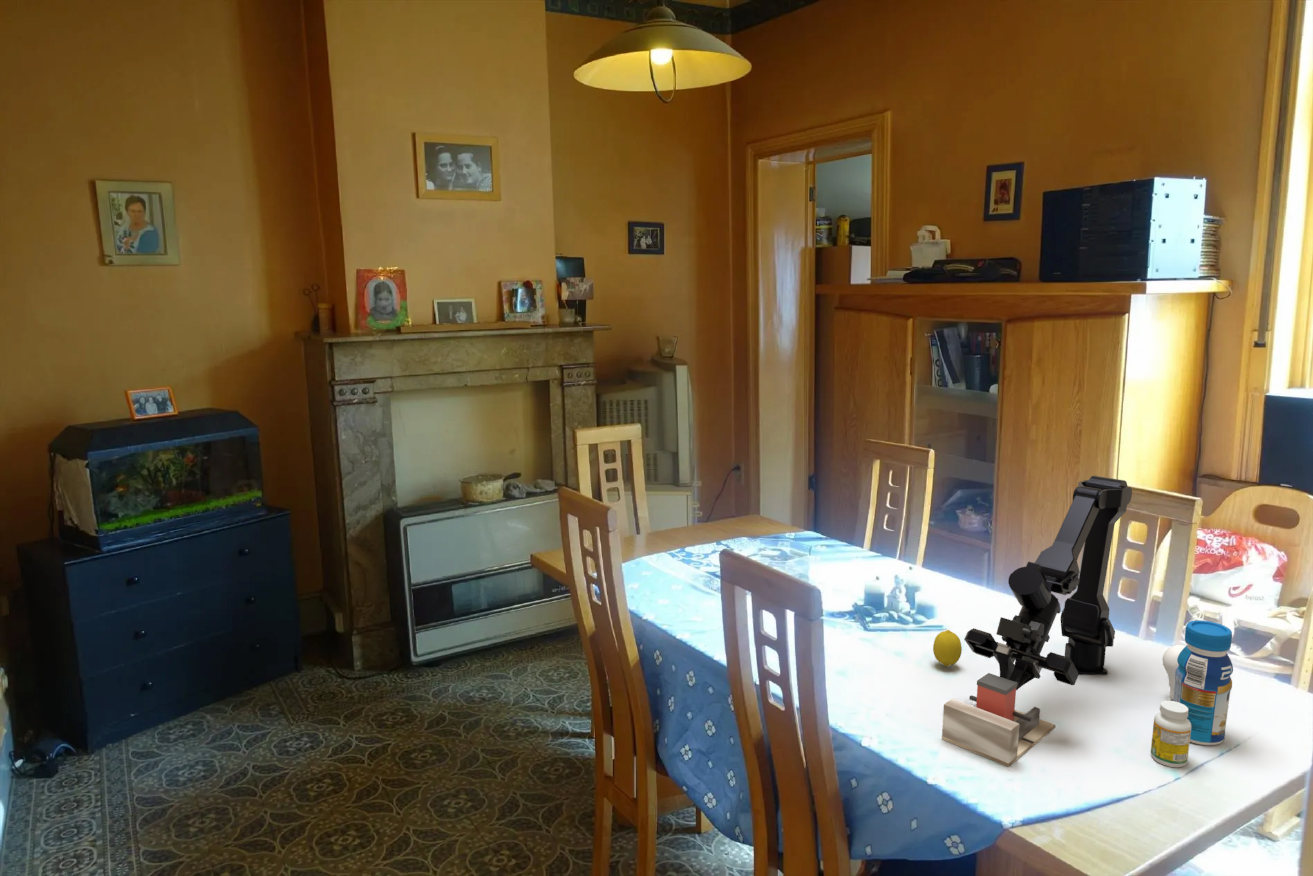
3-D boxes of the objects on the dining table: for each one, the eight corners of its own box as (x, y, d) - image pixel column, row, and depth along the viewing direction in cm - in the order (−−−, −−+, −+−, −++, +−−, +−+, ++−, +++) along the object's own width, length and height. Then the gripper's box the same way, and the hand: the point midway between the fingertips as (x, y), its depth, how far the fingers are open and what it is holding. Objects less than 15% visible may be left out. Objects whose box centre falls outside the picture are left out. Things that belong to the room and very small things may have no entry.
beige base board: (991, 703, 165) (993, 671, 164) (1055, 727, 157) (1058, 693, 155) (941, 739, 153) (943, 704, 152) (1008, 767, 145) (1011, 730, 143)
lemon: (962, 673, 177) (964, 636, 176) (933, 671, 179) (935, 634, 177) (958, 661, 183) (960, 625, 181) (930, 659, 184) (932, 624, 182)
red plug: (970, 717, 159) (973, 667, 157) (1030, 740, 151) (1034, 688, 149) (958, 725, 156) (961, 675, 154) (1018, 750, 148) (1022, 696, 146)
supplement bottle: (1183, 772, 143) (1190, 718, 141) (1146, 760, 146) (1152, 707, 144) (1190, 758, 147) (1196, 705, 145) (1153, 747, 150) (1159, 695, 148)
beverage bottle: (1159, 722, 158) (1170, 617, 154) (1207, 722, 158) (1219, 617, 154) (1185, 747, 150) (1198, 637, 146) (1236, 747, 149) (1250, 637, 146)
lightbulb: (1182, 712, 161) (1189, 656, 159) (1151, 698, 167) (1156, 644, 165) (1203, 704, 164) (1209, 649, 162) (1171, 690, 169) (1177, 637, 167)
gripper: (972, 586, 161) (938, 661, 156) (1076, 614, 147) (1043, 697, 142) (990, 615, 168) (958, 687, 162) (1091, 644, 154) (1060, 725, 149)
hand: (1001, 698), depth 154 cm, fingers closed, pressing on red plug
